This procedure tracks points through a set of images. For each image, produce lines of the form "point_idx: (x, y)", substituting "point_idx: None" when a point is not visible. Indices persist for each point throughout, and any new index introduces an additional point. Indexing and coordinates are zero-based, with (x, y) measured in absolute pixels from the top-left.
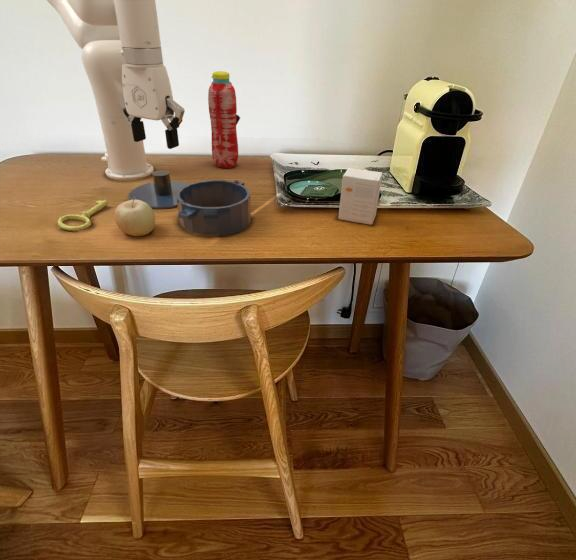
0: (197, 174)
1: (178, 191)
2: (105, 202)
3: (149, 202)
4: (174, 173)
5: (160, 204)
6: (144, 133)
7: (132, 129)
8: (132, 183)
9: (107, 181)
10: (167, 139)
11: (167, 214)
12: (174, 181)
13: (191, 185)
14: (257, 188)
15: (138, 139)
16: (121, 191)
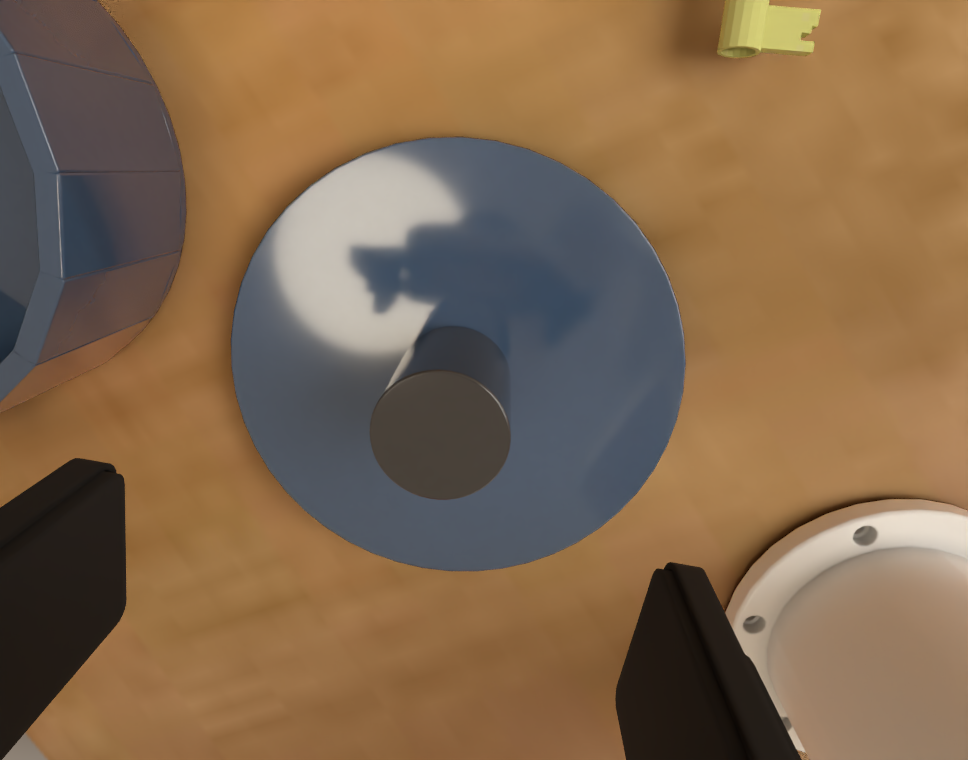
0: (464, 725)
1: (20, 88)
2: (729, 22)
3: (451, 198)
4: (601, 701)
5: (364, 198)
6: (628, 747)
7: (747, 687)
8: (776, 495)
9: (960, 470)
10: (2, 520)
11: (288, 139)
12: (494, 562)
13: (41, 275)
14: None
15: (653, 607)
16: (781, 358)
